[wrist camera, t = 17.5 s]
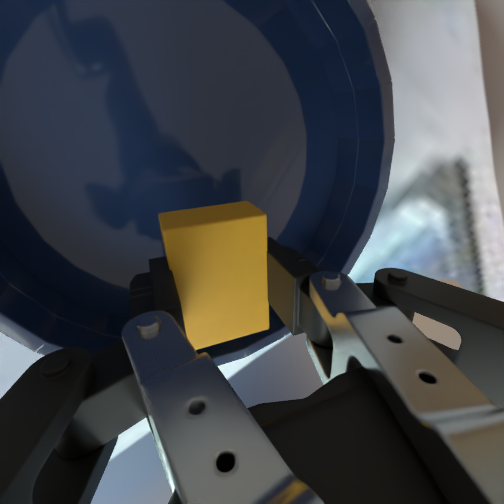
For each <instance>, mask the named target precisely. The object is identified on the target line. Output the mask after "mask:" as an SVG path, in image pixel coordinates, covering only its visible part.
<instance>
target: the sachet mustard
mask: <svg viewBox="0 0 504 504" xmlns="http://www.w3.org/2000/svg"><path fill="white" fill-rule="evenodd" d="M158 218H159V223H160V228H161V234H162V239H163V244H164V250H165V255H166V257H167V261H168V265H169V269H170V270H172V272H173V276H174V280H175V284H176V287H177V291H178V295H179V299H180V302H181V307H182V313H183V318H184V324H185V330H186V335H187V338H188V340H189V341H190V343H191V344H192V346H193V347H194V349H195V350H197V349H201V348H204V347H208V346H211V345H215V344H218V343H222V342H225V341H229V340H232V339H236V338H239V337H242V336H246V335H249V334H253V333H256V332H260V331H263V330H267V329H269V303H268V285H267V215H266V213H264V212H263V211H261V210H260V209H258V208H257V207H256V206H254V205H253V204H251V203H250V202H248V201H242V202H235V203H227V204H220V205H213V206H206V207H199V208H192V209H185V210H178V211H171V212H164V213H159V214H158Z"/></svg>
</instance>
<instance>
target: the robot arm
mask: <svg viewBox="0 0 504 504" xmlns="http://www.w3.org/2000/svg"><path fill="white" fill-rule="evenodd" d="M149 268H150V272H147V273H142V274H137V275H135V277H134V278H133V279H132V281H131V282H130V310H129V321H128V322H127V323H126V324H125V326H124V327H123V329H122V333H121V335H122V338H121V339H120V340H119V341H117V342H116V343H115V344H113V345H112V346H110V347H108V348H106V349H104V350H102V351H100V352H98V353H96V354H93V355H91V356H90V353H89V352H88V351H87V350H86V349H84V348H81V347H68V348H63V349H59V350H56V351H54V352H51V353H49V354H47V355H45V356H44V357H42V358H40V359H39V360H37V361H36V362H35V363H33V364H32V365H31V366H30V367H29V368H28V369H27V370H26V371H25V372H24V373H23V375H22V376H21V377H20V378H19V379H18V380H17V381H16V382H15V383H14V385H13V386H12V387H11V388H10V389H9V390H8V391H7V392H6V393H5V395H4V396H3V397H2V398H1V399H0V504H90V503H91V501H92V498H93V496H94V494H95V492H96V489H97V487H98V485H99V482H100V480H101V478H102V475H103V473H104V471H105V468H106V466H107V464H108V461H109V459H110V457H111V454H112V452H113V450H114V447H115V445H116V442H117V439H118V435H119V434H121V433H122V432H124V431H125V430H127V429H129V428H130V427H132V426H133V425H135V424H136V423H138V422H139V421H141V420H142V419H144V418H145V417H146V418H147V421H148V424H149V427H150V430H151V433H152V436H153V439H154V441H155V445H156V448H157V451H158V453H159V456H160V459H161V462H162V465H163V468H164V471H165V474H166V477H167V481H168V484H169V487H170V490H171V493H172V496H171V499H170V501H169V503H168V504H504V302H502V301H499V300H496V299H493V298H490V297H487V296H484V295H480V294H477V293H474V292H471V291H468V290H465V289H462V288H459V287H456V286H453V285H450V284H447V283H443V282H440V281H437V280H434V279H431V278H428V277H425V276H422V275H419V274H416V273H413V272H410V271H406V270H403V269H397V268H384V269H380V270H378V271H377V272H376V273H375V278H374V283H354V282H353V280H352V279H351V278H350V277H348V276H347V275H345V274H343V273H340V272H336V271H321V270H320V269H319V268H317V267H316V266H315V265H314V264H312V263H311V262H310V261H309V260H307V259H306V258H305V257H304V256H301V254H300V253H298V252H297V251H296V250H295V249H292V248H290V247H287V246H281V245H280V244H279V243H278V242H276V241H275V240H274V239H273V238H272V237H267V285H268V303H269V304H270V305H271V307H272V308H273V309H274V311H275V312H276V313H277V315H278V316H279V317H280V319H281V320H282V321H283V323H284V324H285V325H286V327H287V328H288V329H289V331H290V332H291V333H292V335H293V336H294V335H297V334H301V333H304V332H305V333H306V334H307V339H306V346H307V349H308V351H309V353H310V356H311V358H312V360H313V362H314V365H315V367H316V369H317V371H318V374H319V376H320V378H321V381H322V383H323V386H322V387H321V388H319V389H318V390H316V391H315V392H314V393H312V394H311V395H310V396H308V397H306V398H304V399H297V400H288V401H280V402H271V403H262V404H258V405H255V406H252V407H250V408H246V406H245V405H244V404H243V402H242V401H241V399H240V398H239V396H238V395H237V394H236V392H235V391H234V389H233V388H232V387H231V385H230V384H229V382H228V381H227V379H226V378H225V377H224V375H223V374H222V372H221V371H220V370H219V368H218V367H217V365H216V364H215V362H214V361H213V360H212V358H211V357H210V356H209V355H208V353H206V352H203V353H201V354H199V355H198V353H197V352H196V350H195V349H194V347H193V346H192V344H191V343H190V341H189V340H188V338H187V335H186V330H185V324H184V318H183V313H182V307H181V302H180V299H179V295H178V291H177V287H176V284H175V280H174V276H173V272H172V270H170V269H169V265H168V261H167V257H166V256H163V257H158V258H153V259H149ZM415 312H416V313H419V314H421V315H423V316H426V317H429V318H431V319H434V320H436V321H438V322H441V323H443V324H445V325H448V326H450V327H452V328H454V329H455V330H456V331H457V332H458V333H459V334H460V336H461V345H460V348H459V350H454V349H451V348H449V347H447V346H445V345H443V344H440V343H438V342H436V341H434V340H431V339H429V338H427V337H426V336H425V335H424V334H423V333H422V332H421V331H420V330H419V329H418V328H417V327H416V326H415V325H414V324H413V323H412V321H413V317H414V313H415Z"/></svg>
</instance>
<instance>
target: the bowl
mask: <svg viewBox="0 0 504 504" xmlns="http://www.w3.org/2000/svg"><path fill="white" fill-rule="evenodd" d="M374 18H375V17H374V14H373V12H372V11H371V9H370V7H369V5H368V3H367V1H366V0H0V332H2V333H3V334H5V335H7V336H9V337H10V338H12V339H14V340H15V341H17V342H19V343H20V344H22V345H24V346H26V347H27V348H29V349H31V350H32V351H34V352H36V351H37V353H39V354H43V355H47V354H49V353H51V352H54V351H56V350H59V349H63V348H68V347H81V348H84V349H86V350H87V351H88V352H89V353H90V356H91V355H93V354H96V353H98V352H100V351H102V350H104V349H106V348H108V347H110V346H112V345H113V344H115V343H116V342H117V341H119V340H120V339H121V338H122V335H121V333H122V329H123V327H124V326H125V324H126V323H127V322H128V321H129V310H130V282H131V281H132V279H133V278H134V277H135V275H137V274H142V273H147V272H150V268H149V259H153V258H158V257H163V256H166V255H165V250H164V244H163V239H162V234H161V228H160V223H159V218H158V214H159V213H164V212H171V211H178V210H185V209H192V208H199V207H206V206H213V205H220V204H227V203H235V202H242V201H248V202H250V203H251V204H253V205H254V206H256V207H257V208H258V209H260V210H261V211H263V212H264V213H266V215H267V237H272V238H273V239H274V240H275V241H276V242H278V243H279V244H280V245H281V246H287V247H290V248H292V249H295V250H296V251H297V252H298V253H300V254H301V256H304V257H305V258H306V259H307V260H309V261H310V262H311V263H312V264H314V265H315V266H316V267H317V268H319V269H320V270H321V271H336V272H340V273H343V274H345V275H347V274H349V273H350V271H351V269H352V268H353V266H354V264H355V263H356V261H357V259H358V257H359V256H360V254H361V252H362V250H363V249H364V247H365V245H366V244H367V242H368V240H369V238H370V235H371V234H372V232H373V229H374V226H375V223H376V220H377V217H378V215H379V212H380V209H381V206H382V203H383V200H384V198H385V195H386V192H387V189H388V182H389V175H390V169H391V162H392V155H393V148H394V142H395V139H394V137H395V132H394V113H393V93H392V81H391V75H390V72H389V68H388V64H387V60H386V56H385V53H384V49H383V45H382V41H381V38H380V34H379V30H378V26H377V22H376V20H375V19H374ZM347 276H348V275H347ZM288 333H290V331H289V329H288V328H287V327H286V325H285V324H284V323H283V321H282V320H281V319H280V317H279V316H278V315H277V313H276V312H275V311H274V309H273V308H272V307H271V305H270V304H269V329H267V330H263V331H260V332H256V333H253V334H249V335H246V336H242V337H239V338H236V339H232V340H229V341H225V342H222V343H218V344H215V345H211V346H208V347H204V348H201V349H197V350H196V352H197V353H198V355H199V354H201V353H203V352H206V353H208V355H209V356H210V357H211V358H212V360H213V361H214V362H215V364H216V365H217V366H219V365H222V364H225V363H229V362H232V361H235V360H238V359H241V358H244V357H245V356H246V357H247V356H249V355H251V354H253V353H254V352H256V351H258V350H260V349H262V348H264V347H266V346H268V345H269V344H271V343H273V342H275V341H277V340H279V339H281V338H283V337H284V335H285V336H286V335H287V334H288Z"/></svg>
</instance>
